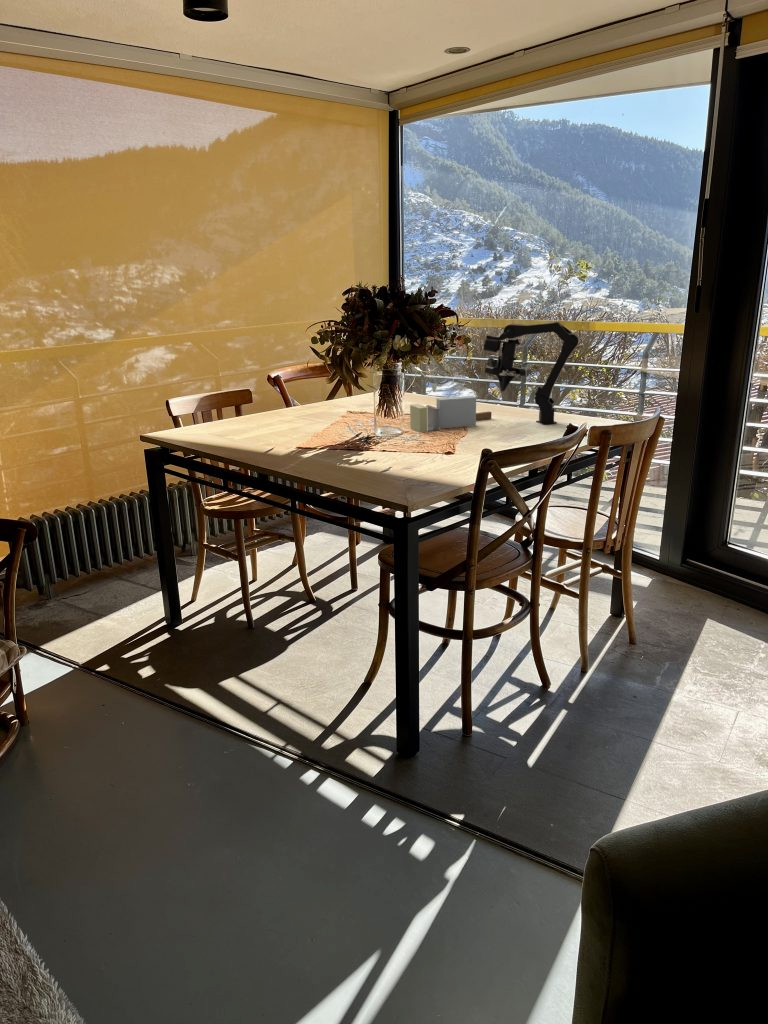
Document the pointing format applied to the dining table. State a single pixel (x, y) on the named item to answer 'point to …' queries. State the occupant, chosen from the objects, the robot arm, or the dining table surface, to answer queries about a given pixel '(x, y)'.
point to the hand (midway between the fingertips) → (502, 391)
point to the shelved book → (419, 417)
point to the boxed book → (457, 411)
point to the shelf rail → (483, 415)
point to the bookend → (433, 418)
